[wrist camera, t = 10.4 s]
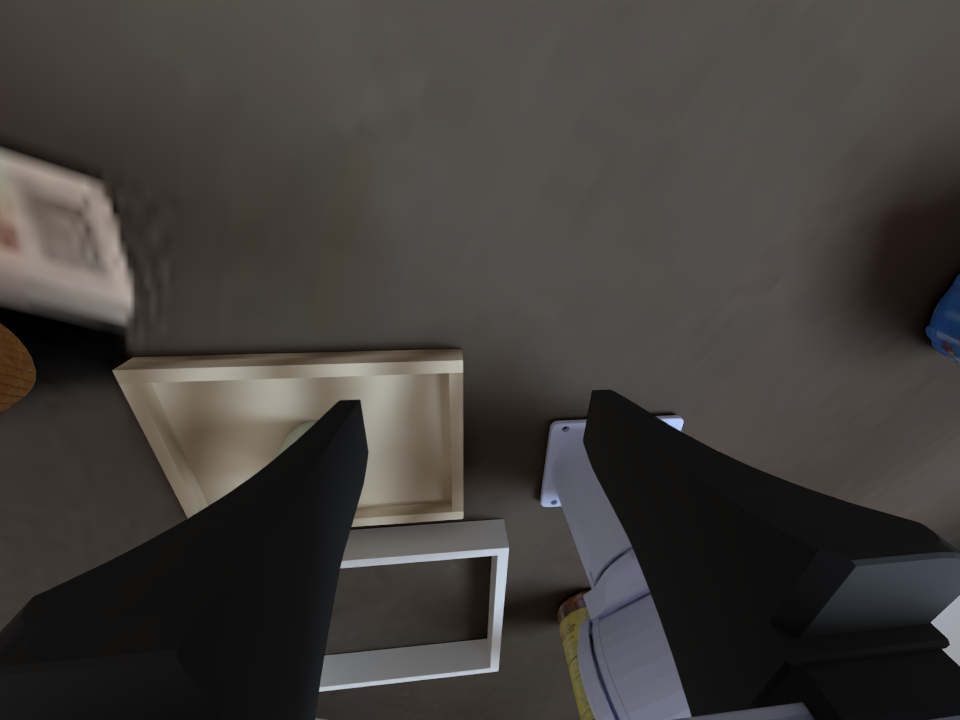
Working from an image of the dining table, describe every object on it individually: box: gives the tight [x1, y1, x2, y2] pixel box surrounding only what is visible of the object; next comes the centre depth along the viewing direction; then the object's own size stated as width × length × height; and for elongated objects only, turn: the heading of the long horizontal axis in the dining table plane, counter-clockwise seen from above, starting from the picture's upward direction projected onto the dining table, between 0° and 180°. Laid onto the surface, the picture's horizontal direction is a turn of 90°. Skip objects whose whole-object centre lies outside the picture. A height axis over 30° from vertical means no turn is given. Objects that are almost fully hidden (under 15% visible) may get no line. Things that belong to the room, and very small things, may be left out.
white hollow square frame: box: [319, 519, 509, 692], centre depth 31 cm, size 19×19×2 cm
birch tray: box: [112, 349, 463, 527], centre depth 23 cm, size 18×13×2 cm
